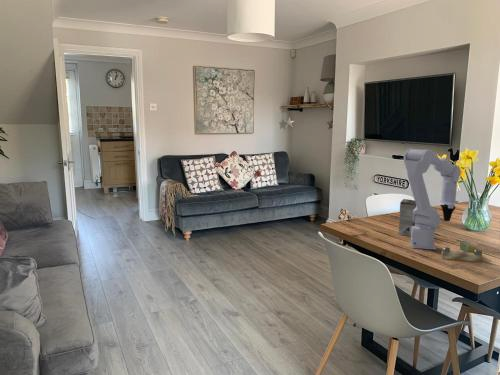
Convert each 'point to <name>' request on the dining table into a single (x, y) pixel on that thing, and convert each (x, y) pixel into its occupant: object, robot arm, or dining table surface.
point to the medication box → (468, 247)
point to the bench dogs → (447, 250)
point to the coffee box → (406, 216)
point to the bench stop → (461, 256)
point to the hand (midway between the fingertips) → (446, 220)
